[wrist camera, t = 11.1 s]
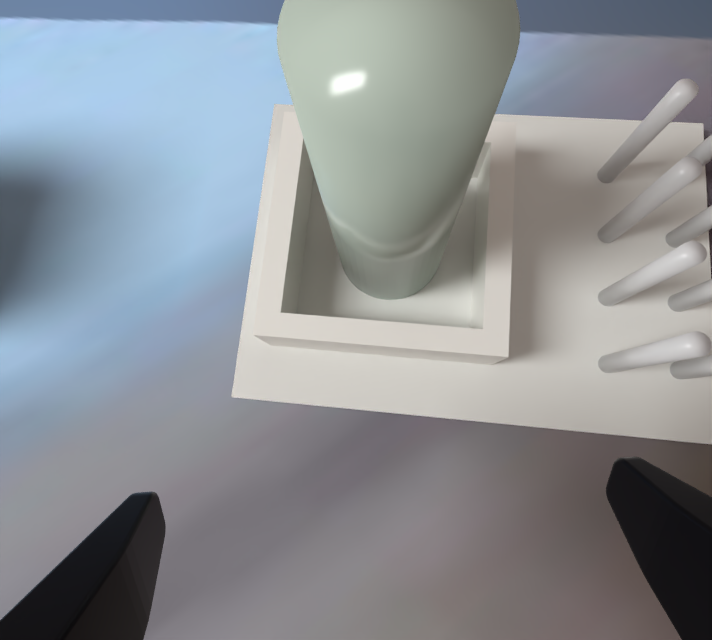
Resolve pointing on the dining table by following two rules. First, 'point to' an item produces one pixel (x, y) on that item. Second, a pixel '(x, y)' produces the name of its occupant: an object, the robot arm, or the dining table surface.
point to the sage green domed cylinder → (395, 121)
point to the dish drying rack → (506, 286)
